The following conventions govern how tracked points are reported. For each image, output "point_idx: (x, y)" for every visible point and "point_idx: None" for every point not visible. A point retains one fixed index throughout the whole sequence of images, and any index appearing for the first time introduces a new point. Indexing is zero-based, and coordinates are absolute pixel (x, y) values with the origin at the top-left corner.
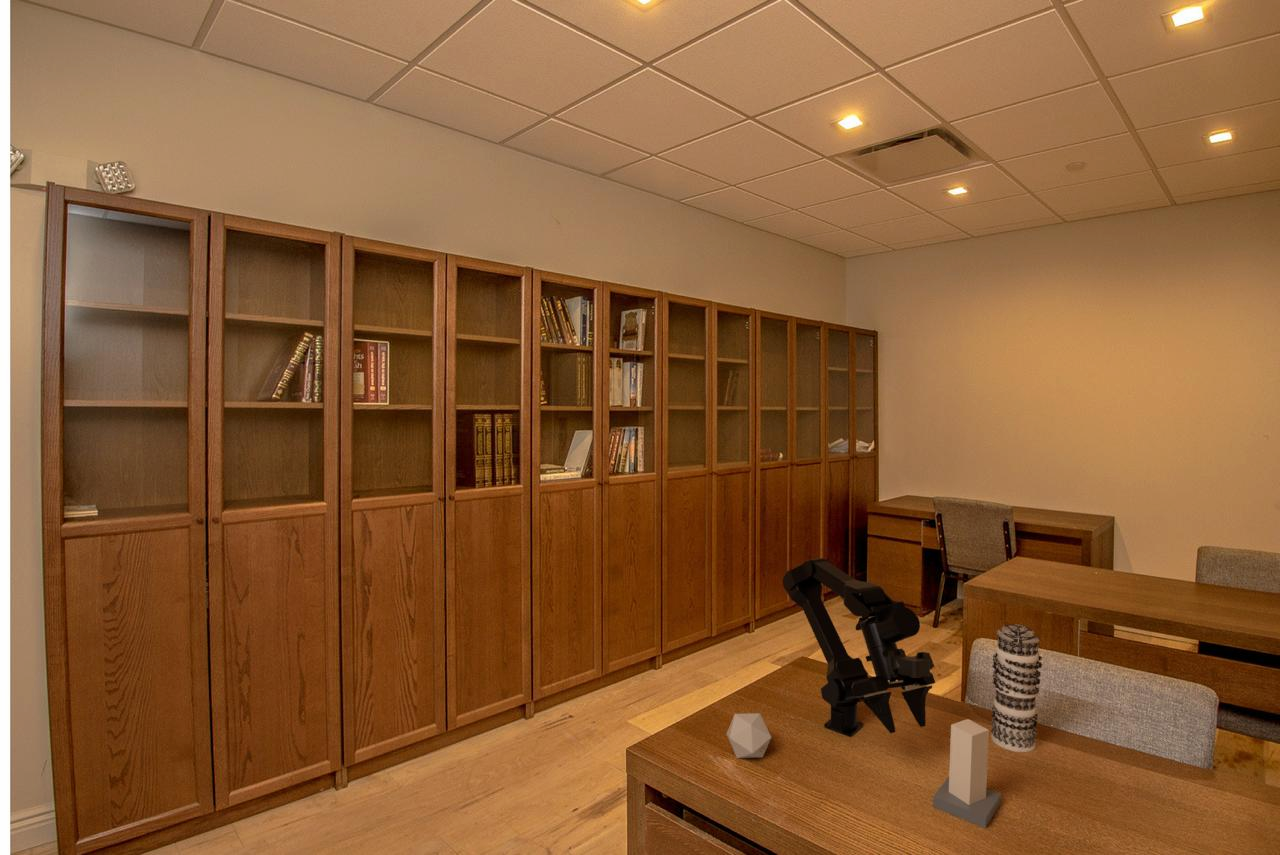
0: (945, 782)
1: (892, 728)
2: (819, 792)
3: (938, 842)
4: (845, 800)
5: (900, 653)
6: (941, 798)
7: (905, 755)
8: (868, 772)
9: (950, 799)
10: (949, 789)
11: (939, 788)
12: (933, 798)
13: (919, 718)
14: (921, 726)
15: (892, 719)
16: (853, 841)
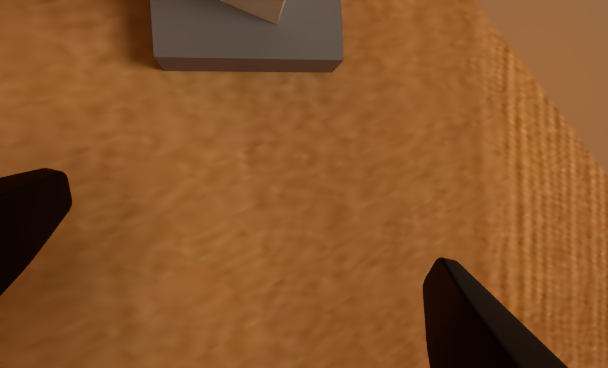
0: (225, 53)
1: (472, 282)
2: None
3: (470, 6)
4: None
5: None
6: (336, 32)
7: (86, 275)
8: (299, 310)
9: (319, 5)
10: (279, 16)
11: (280, 58)
12: (340, 62)
13: (16, 230)
14: (68, 196)
15: (499, 330)
16: (595, 176)
